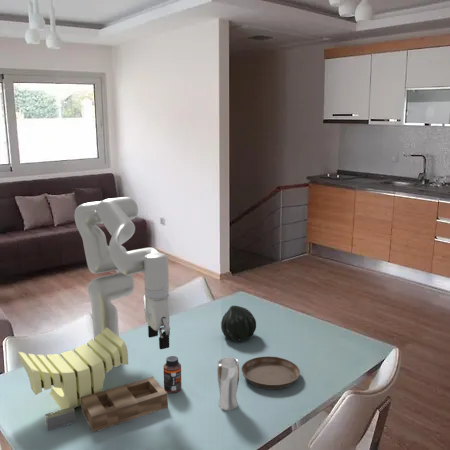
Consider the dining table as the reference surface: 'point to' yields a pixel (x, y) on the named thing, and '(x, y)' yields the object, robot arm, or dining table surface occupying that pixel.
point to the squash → (238, 324)
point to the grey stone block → (60, 418)
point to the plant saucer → (270, 372)
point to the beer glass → (228, 383)
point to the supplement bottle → (172, 375)
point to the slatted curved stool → (75, 369)
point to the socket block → (123, 403)
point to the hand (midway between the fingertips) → (158, 342)
